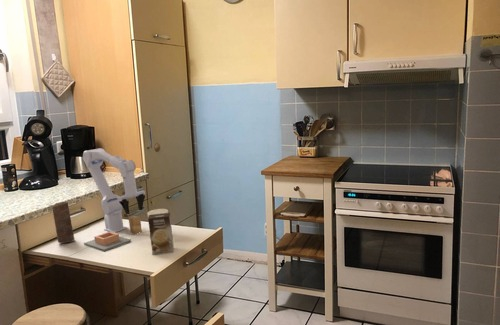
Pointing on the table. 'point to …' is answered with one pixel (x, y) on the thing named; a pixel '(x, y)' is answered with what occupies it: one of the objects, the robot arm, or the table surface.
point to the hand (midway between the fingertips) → (134, 211)
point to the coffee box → (161, 233)
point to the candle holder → (157, 211)
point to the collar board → (107, 241)
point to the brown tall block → (63, 222)
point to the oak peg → (135, 224)
